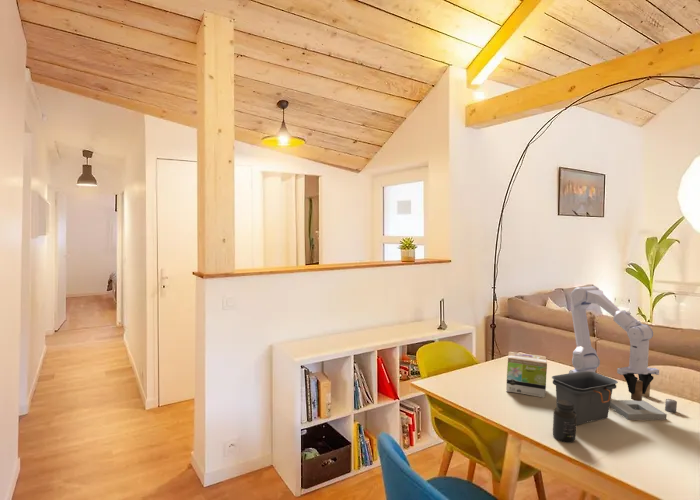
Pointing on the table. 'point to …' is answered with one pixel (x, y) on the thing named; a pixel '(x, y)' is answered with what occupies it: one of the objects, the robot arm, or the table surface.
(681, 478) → the table surface
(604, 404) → the storage bin
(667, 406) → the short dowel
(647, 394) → the medium dowel
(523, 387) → the tea box
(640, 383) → the long dowel
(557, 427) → the supplement bottle
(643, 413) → the hole board
